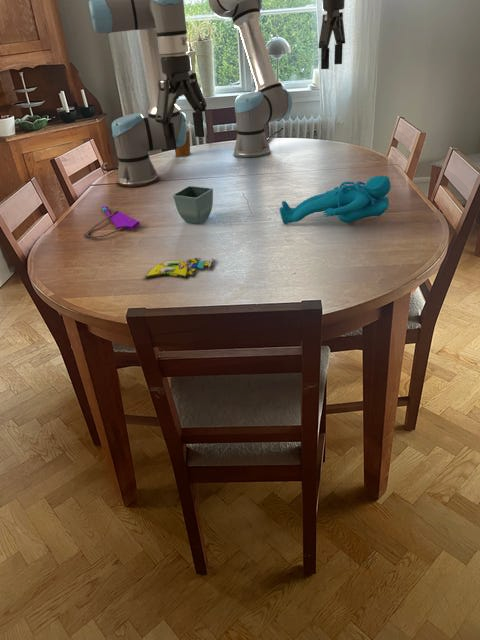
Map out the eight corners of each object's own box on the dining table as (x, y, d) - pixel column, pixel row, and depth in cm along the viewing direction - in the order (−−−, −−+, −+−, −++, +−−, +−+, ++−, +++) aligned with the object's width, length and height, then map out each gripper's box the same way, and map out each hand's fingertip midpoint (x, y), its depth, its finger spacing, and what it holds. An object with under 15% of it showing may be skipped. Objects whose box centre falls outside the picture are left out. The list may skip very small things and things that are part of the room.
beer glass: (168, 157, 212) (164, 128, 205) (178, 151, 219) (174, 123, 212) (187, 157, 208) (183, 128, 202) (197, 151, 216) (193, 123, 209)
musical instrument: (112, 245, 135) (156, 212, 147) (109, 239, 134) (154, 206, 146) (58, 238, 148) (103, 208, 160) (55, 232, 147) (101, 202, 159)
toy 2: (283, 190, 142) (387, 164, 132) (292, 223, 147) (393, 200, 137) (274, 211, 129) (390, 183, 118) (285, 246, 134) (396, 223, 124)
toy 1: (206, 274, 112) (144, 275, 114) (207, 278, 112) (145, 278, 115) (214, 255, 120) (156, 256, 123) (214, 258, 121) (157, 259, 123)
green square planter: (201, 227, 139) (197, 197, 135) (176, 224, 143) (171, 194, 138) (216, 217, 146) (213, 188, 141) (192, 214, 150) (188, 185, 145)
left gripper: (156, 60, 110) (170, 155, 122) (213, 49, 128) (221, 132, 139) (131, 61, 113) (147, 153, 125) (190, 50, 131) (199, 131, 143)
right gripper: (330, -4, 153) (329, 70, 165) (355, -6, 171) (352, 61, 182) (308, -2, 156) (308, 71, 168) (335, -4, 174) (333, 62, 186)
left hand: (186, 142), depth 132 cm, fingers open, 13 cm apart
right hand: (331, 66), depth 175 cm, fingers open, 13 cm apart
